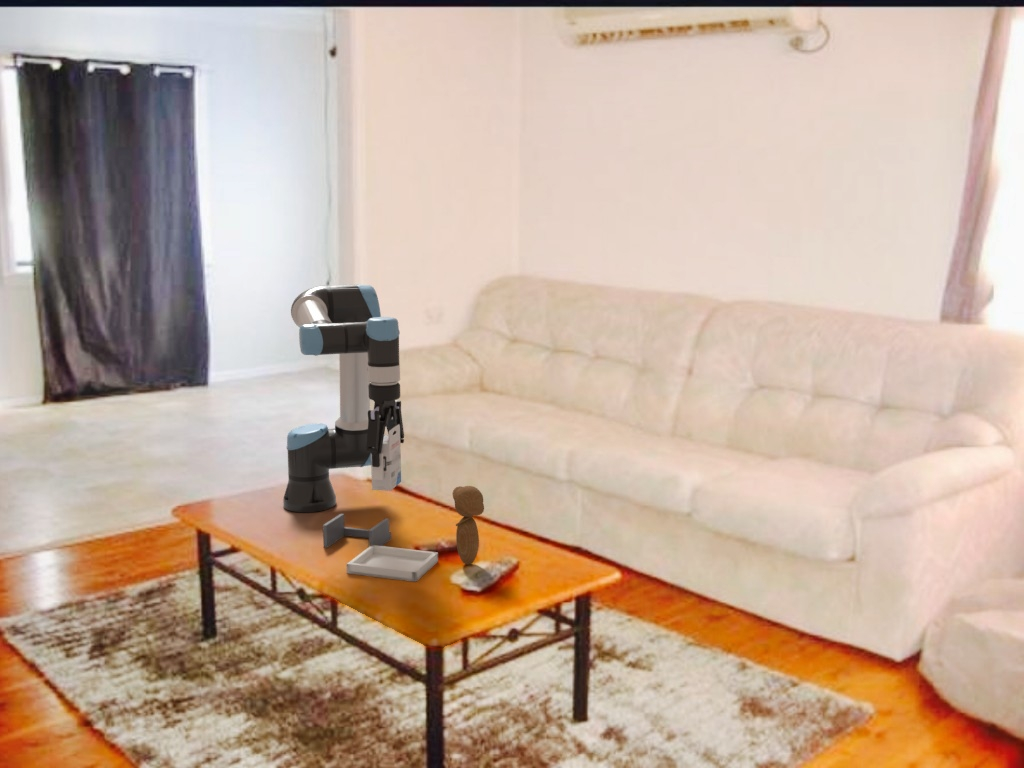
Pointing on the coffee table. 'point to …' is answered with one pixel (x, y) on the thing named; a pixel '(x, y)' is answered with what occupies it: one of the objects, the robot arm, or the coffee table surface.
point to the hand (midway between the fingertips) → (386, 474)
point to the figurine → (467, 521)
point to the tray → (392, 563)
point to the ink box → (390, 461)
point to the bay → (355, 532)
